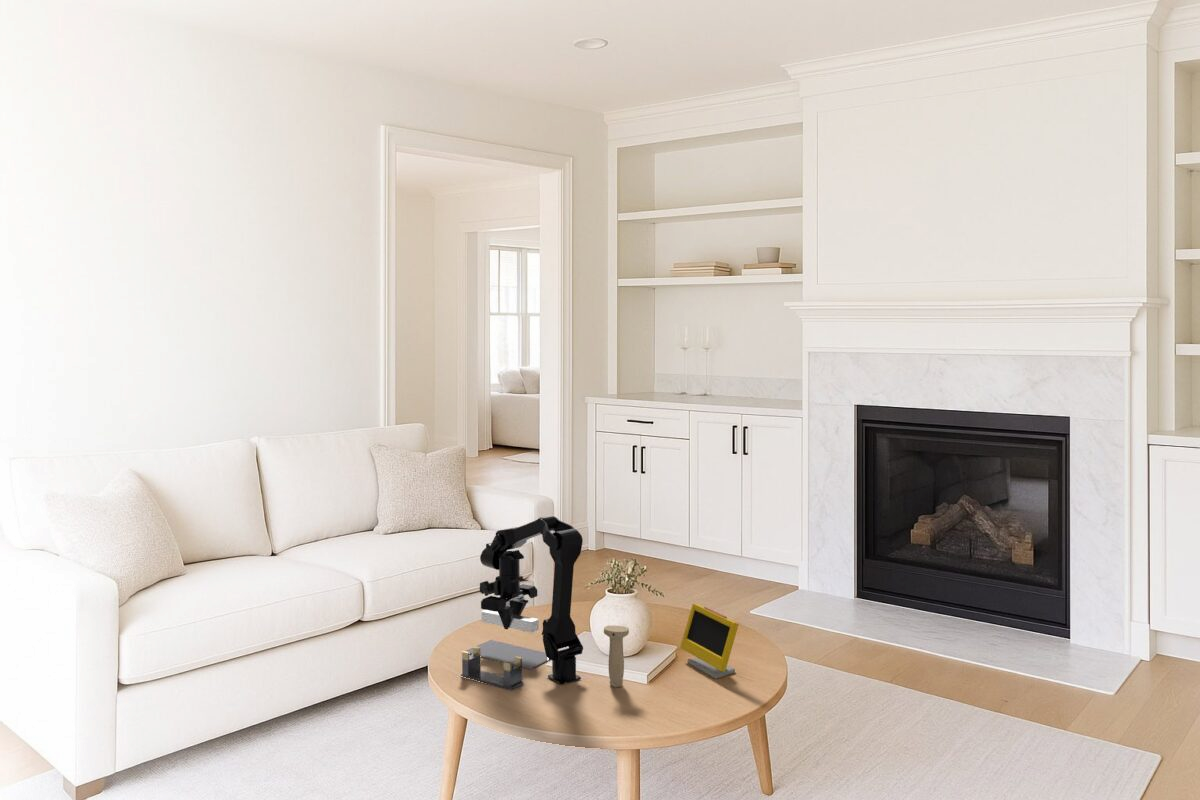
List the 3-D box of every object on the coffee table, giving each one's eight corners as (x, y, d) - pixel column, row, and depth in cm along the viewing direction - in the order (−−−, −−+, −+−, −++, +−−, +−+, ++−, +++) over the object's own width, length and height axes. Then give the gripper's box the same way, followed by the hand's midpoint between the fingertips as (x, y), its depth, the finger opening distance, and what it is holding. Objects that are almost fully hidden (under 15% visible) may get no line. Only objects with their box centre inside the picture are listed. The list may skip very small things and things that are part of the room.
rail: (538, 629, 262) (538, 619, 262) (532, 632, 260) (531, 621, 260) (488, 619, 272) (488, 608, 272) (481, 621, 270) (481, 611, 269)
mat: (557, 656, 265) (557, 655, 265) (530, 669, 255) (530, 668, 255) (490, 641, 278) (490, 639, 278) (463, 652, 268) (463, 651, 268)
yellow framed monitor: (679, 659, 263) (680, 603, 262) (703, 655, 266) (703, 600, 265) (720, 683, 245) (721, 624, 244) (745, 678, 249) (746, 619, 248)
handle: (607, 680, 247) (607, 624, 246) (631, 683, 245) (631, 627, 244) (601, 687, 243) (601, 630, 242) (625, 690, 241) (625, 632, 239)
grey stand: (523, 684, 245) (523, 658, 244) (511, 690, 240) (511, 663, 240) (473, 671, 254) (473, 645, 253) (461, 677, 250) (460, 651, 249)
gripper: (507, 562, 277) (508, 614, 278) (465, 576, 261) (466, 631, 263) (538, 567, 271) (538, 620, 272) (496, 582, 255) (497, 638, 256)
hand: (510, 627), depth 266 cm, fingers closed on rail, 3 cm apart
